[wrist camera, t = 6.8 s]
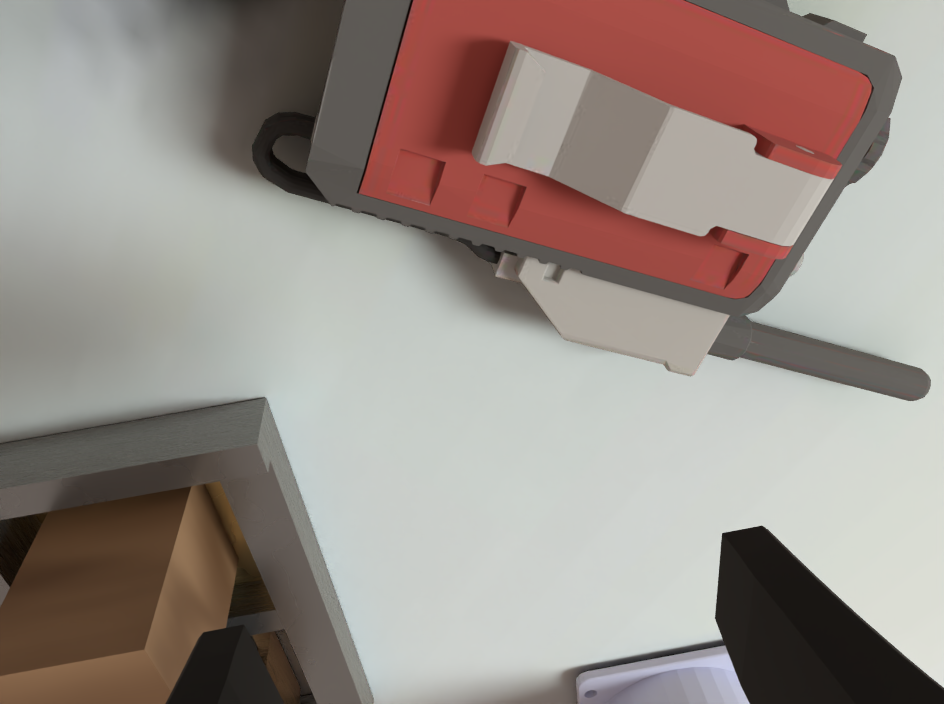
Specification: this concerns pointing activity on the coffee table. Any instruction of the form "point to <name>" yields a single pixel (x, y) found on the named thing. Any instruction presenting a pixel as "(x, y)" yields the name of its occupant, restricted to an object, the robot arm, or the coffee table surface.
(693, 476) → the coffee table surface
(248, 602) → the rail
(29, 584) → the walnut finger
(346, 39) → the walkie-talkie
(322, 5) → the coffee table surface
